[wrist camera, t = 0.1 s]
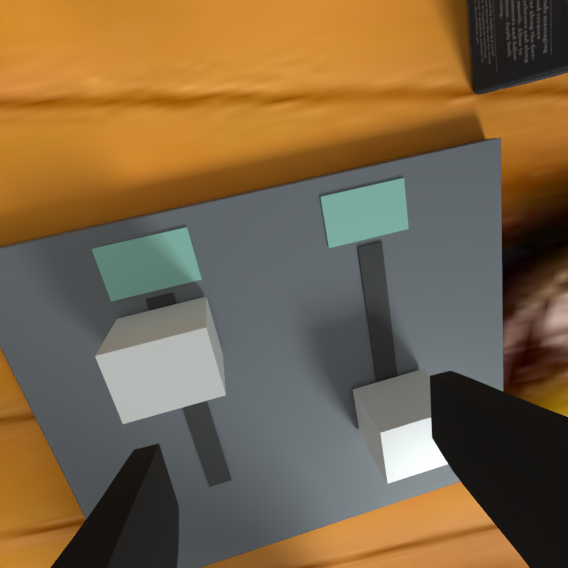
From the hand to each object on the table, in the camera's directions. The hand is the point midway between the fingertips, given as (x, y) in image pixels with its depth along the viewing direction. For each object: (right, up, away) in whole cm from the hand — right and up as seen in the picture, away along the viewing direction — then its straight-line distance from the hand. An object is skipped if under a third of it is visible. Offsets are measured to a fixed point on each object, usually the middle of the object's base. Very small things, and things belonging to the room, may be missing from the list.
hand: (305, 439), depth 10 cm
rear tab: (+5, -2, +11) cm, 13 cm away
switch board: (0, -1, +11) cm, 11 cm away
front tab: (-6, +2, +8) cm, 10 cm away
